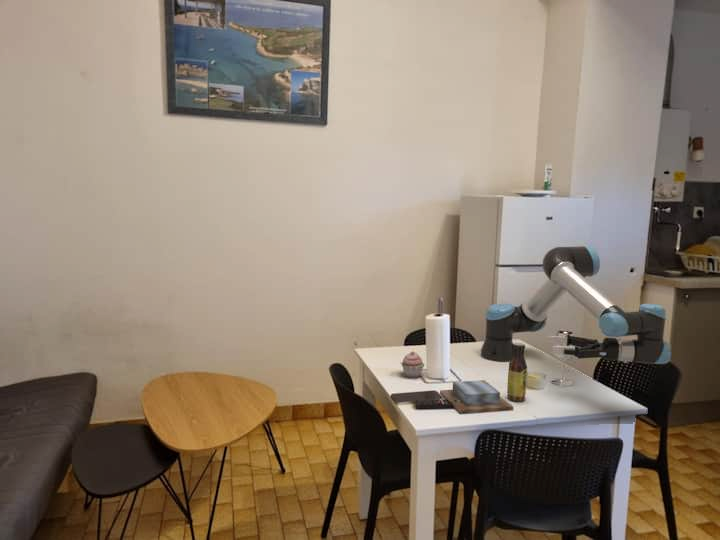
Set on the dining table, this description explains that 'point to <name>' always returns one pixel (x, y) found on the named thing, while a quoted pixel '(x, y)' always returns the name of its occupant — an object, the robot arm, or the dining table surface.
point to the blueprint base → (475, 408)
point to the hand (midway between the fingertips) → (549, 344)
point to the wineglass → (563, 359)
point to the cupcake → (412, 365)
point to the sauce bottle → (517, 374)
